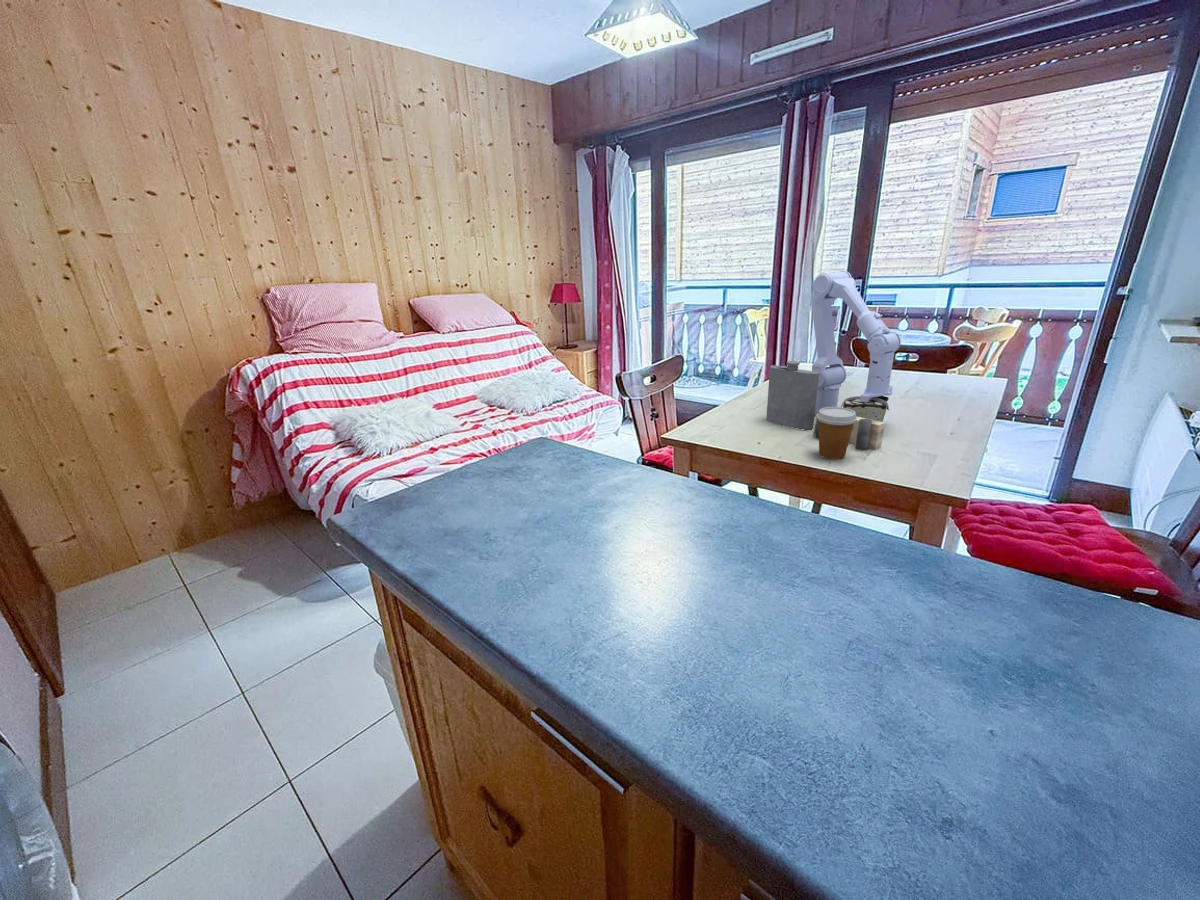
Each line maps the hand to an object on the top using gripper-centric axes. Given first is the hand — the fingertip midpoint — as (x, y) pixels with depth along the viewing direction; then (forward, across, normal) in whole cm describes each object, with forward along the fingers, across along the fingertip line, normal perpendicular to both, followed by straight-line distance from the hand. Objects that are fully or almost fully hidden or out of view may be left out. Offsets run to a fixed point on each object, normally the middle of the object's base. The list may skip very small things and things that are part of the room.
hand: (872, 420), depth 149 cm
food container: (+2, -6, +1) cm, 6 cm away
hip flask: (+3, -14, +19) cm, 24 cm away
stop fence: (+2, -16, 0) cm, 16 cm away
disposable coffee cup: (+3, -27, -3) cm, 27 cm away
